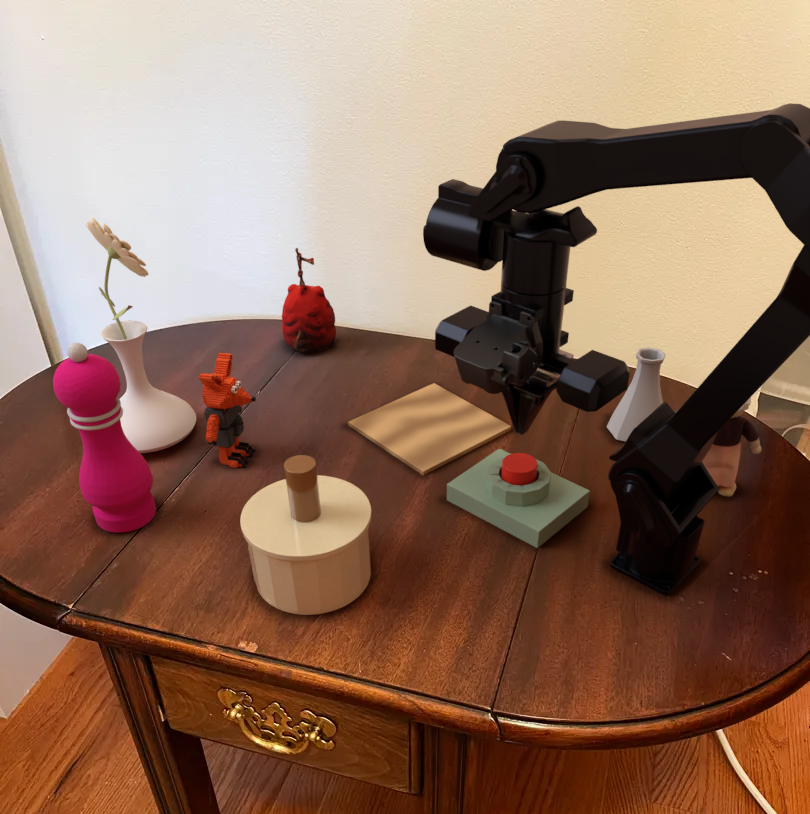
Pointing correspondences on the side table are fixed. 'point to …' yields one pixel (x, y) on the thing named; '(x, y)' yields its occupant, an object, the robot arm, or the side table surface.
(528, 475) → the release button
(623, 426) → the flask
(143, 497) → the pepper mill
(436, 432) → the wooden board
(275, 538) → the jar lid
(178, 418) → the flower in vase
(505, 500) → the button base
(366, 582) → the jar
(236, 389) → the toy animal
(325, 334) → the red clay folk toy
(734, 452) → the grandmother figurine
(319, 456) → the side table surface
